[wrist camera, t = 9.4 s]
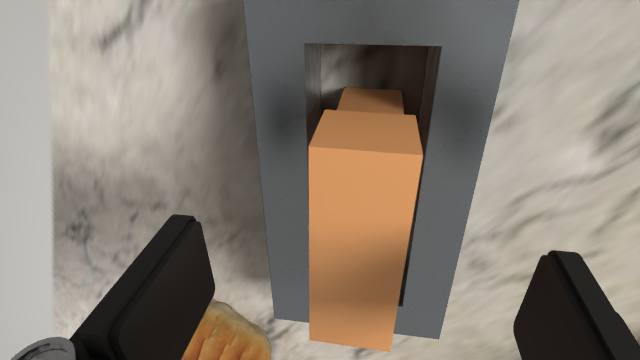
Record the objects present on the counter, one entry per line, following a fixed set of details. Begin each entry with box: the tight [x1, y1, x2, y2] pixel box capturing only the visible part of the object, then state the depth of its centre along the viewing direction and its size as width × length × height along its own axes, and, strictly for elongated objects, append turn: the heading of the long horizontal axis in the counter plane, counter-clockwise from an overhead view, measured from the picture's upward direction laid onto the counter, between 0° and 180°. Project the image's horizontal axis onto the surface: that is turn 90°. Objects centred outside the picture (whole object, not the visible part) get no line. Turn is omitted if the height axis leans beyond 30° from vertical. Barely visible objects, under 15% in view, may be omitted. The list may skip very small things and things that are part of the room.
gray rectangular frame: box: [243, 0, 519, 339], centre depth 17 cm, size 16×8×4 cm, turn 0°
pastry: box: [181, 299, 272, 360], centre depth 25 cm, size 9×7×4 cm
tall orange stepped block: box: [309, 87, 423, 352], centre depth 15 cm, size 8×3×8 cm, turn 179°
